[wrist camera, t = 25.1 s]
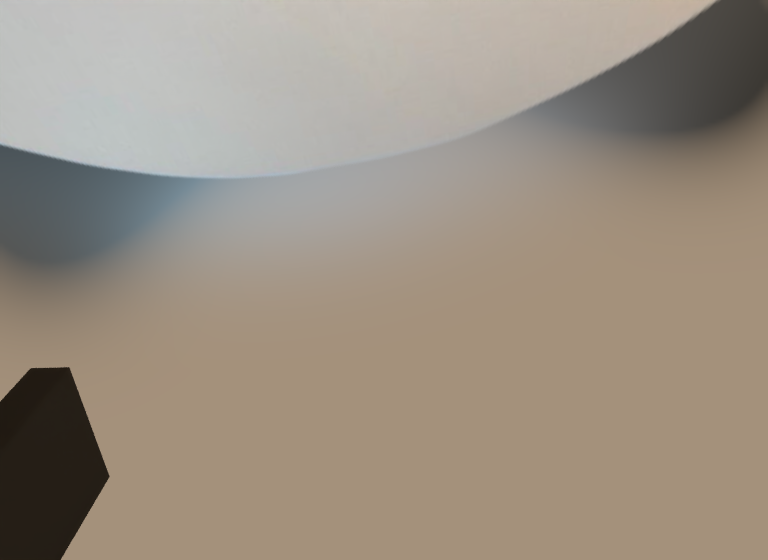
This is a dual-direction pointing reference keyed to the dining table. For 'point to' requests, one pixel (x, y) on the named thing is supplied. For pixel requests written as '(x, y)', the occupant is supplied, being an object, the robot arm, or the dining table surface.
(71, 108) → the dining table surface
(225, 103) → the dining table surface
